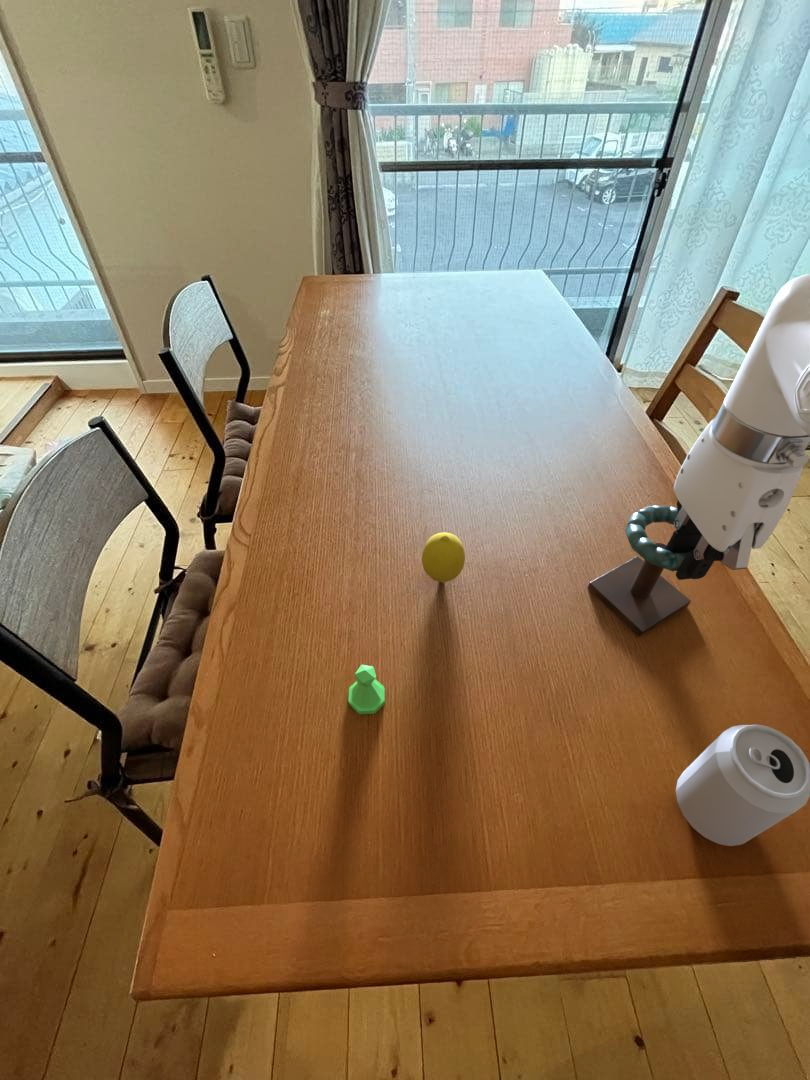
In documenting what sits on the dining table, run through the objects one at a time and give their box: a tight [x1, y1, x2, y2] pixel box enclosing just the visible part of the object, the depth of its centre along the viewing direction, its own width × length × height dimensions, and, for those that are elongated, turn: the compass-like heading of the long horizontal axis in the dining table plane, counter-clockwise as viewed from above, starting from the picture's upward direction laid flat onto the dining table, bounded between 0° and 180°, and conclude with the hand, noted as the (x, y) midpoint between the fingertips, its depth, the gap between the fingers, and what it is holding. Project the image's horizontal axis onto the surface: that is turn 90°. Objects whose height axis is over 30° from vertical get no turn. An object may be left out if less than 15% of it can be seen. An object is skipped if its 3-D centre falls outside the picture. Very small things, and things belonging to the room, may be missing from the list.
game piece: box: [348, 664, 386, 715], centre depth 60 cm, size 4×4×6 cm
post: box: [587, 542, 692, 638], centre depth 69 cm, size 9×9×9 cm
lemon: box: [421, 531, 466, 583], centre depth 71 cm, size 6×6×8 cm
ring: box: [625, 505, 712, 572], centre depth 64 cm, size 10×10×2 cm
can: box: [675, 723, 810, 847], centre depth 50 cm, size 8×8×12 cm
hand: (683, 565), depth 62 cm, fingers closed on ring, 2 cm apart
